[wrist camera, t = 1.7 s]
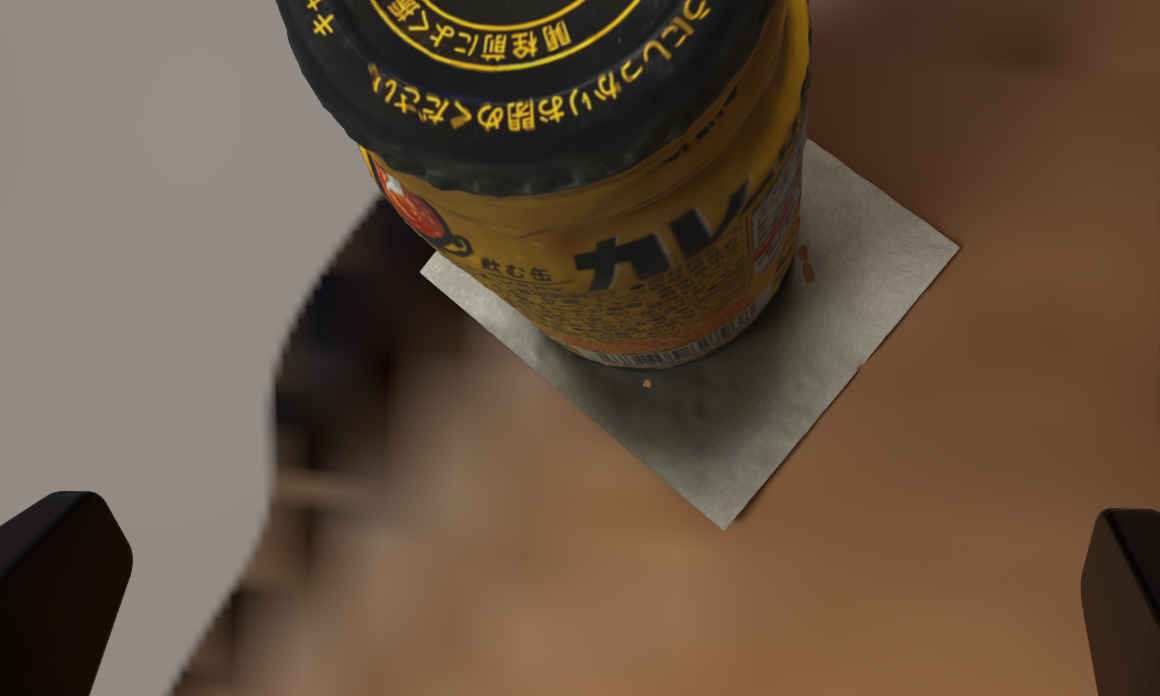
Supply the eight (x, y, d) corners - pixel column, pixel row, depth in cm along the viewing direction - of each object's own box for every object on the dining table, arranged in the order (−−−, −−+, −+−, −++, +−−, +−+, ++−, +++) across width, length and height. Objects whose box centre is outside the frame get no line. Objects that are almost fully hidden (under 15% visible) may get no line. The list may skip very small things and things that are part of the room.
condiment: (635, 17, 22) (482, -516, 10) (958, 250, 20) (1214, -90, 9) (422, 274, 22) (35, 27, 11) (724, 531, 20) (659, 577, 9)
